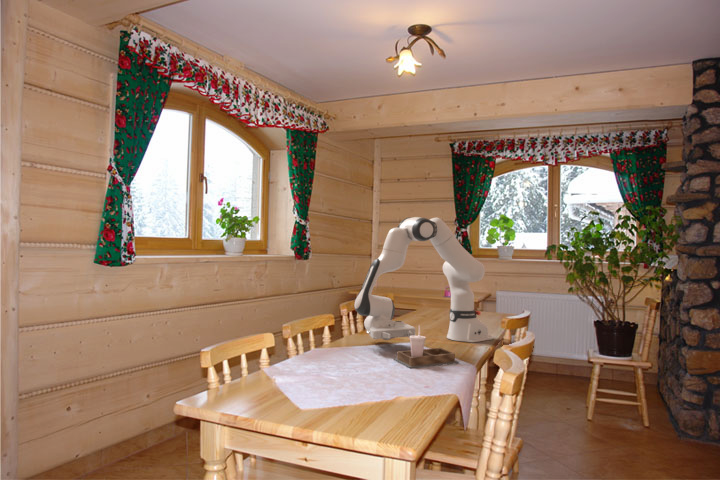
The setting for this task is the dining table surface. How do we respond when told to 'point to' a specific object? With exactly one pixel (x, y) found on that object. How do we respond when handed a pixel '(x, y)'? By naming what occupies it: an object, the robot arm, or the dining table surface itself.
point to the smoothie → (417, 344)
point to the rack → (426, 357)
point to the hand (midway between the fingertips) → (401, 335)
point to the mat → (423, 365)
